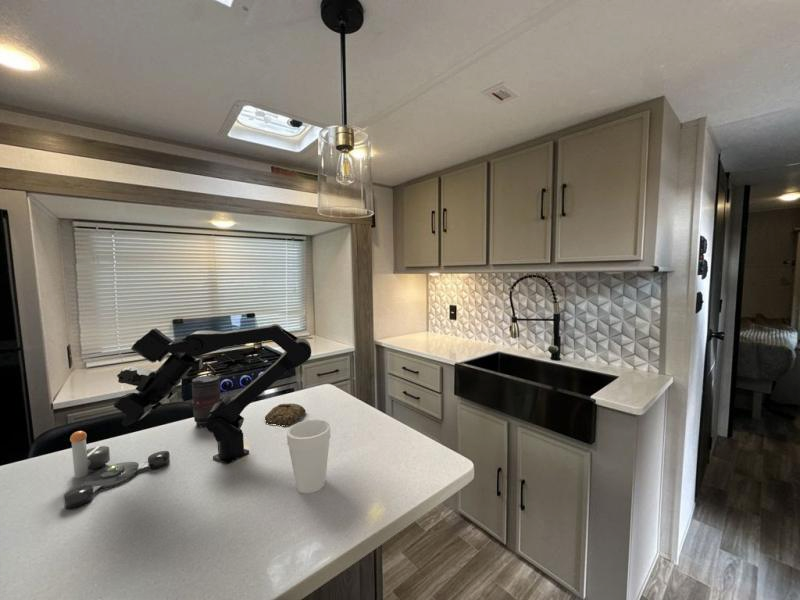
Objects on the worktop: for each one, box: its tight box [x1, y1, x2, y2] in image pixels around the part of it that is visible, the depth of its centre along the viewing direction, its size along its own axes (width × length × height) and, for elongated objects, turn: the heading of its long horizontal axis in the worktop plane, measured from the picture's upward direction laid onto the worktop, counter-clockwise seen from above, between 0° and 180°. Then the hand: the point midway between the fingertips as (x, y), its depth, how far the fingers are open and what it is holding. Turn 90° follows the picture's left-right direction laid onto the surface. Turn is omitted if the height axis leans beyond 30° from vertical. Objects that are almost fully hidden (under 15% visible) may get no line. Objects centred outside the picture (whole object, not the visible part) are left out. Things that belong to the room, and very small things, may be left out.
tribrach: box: [63, 450, 171, 511], centre depth 80 cm, size 18×20×3 cm
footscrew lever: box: [69, 430, 111, 479], centre depth 81 cm, size 9×6×11 cm, turn 17°
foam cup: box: [286, 419, 331, 494], centre depth 74 cm, size 10×9×13 cm
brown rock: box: [264, 403, 306, 427], centre depth 111 cm, size 13×12×5 cm
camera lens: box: [191, 375, 222, 428], centre depth 108 cm, size 8×8×15 cm
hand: (124, 424), depth 80 cm, fingers closed
